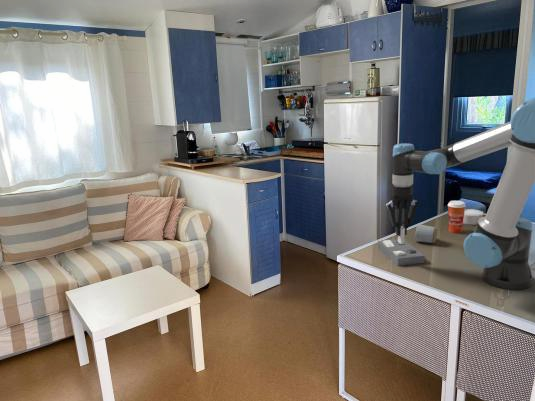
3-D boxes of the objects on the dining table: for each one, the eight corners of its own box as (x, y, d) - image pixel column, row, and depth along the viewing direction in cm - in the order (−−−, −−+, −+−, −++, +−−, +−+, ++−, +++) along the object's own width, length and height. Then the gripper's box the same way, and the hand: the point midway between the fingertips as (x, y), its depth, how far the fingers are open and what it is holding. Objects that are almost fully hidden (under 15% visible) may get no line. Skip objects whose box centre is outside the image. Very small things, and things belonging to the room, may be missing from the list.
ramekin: (466, 217, 212) (467, 207, 211) (487, 222, 203) (488, 212, 202) (453, 222, 207) (453, 211, 206) (474, 227, 198) (474, 216, 196)
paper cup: (445, 232, 193) (446, 204, 189) (447, 227, 199) (449, 199, 196) (463, 234, 189) (465, 205, 185) (465, 229, 195) (467, 201, 191)
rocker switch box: (424, 262, 163) (424, 255, 162) (397, 265, 162) (397, 258, 161) (401, 244, 182) (402, 238, 181) (378, 247, 181) (378, 240, 180)
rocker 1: (394, 248, 174) (394, 246, 173) (387, 249, 173) (387, 246, 173) (389, 241, 178) (390, 239, 178) (382, 242, 178) (382, 240, 177)
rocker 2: (405, 255, 164) (405, 252, 164) (397, 255, 163) (397, 253, 163) (400, 252, 169) (399, 250, 169) (392, 253, 168) (392, 251, 168)
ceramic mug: (434, 246, 179) (435, 229, 177) (414, 243, 183) (415, 227, 181) (438, 238, 187) (439, 222, 185) (419, 236, 191) (420, 220, 190)
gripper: (414, 181, 161) (412, 238, 167) (382, 184, 160) (381, 241, 166) (423, 185, 154) (421, 244, 160) (390, 188, 152) (389, 248, 158)
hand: (401, 242), depth 163 cm, fingers closed
